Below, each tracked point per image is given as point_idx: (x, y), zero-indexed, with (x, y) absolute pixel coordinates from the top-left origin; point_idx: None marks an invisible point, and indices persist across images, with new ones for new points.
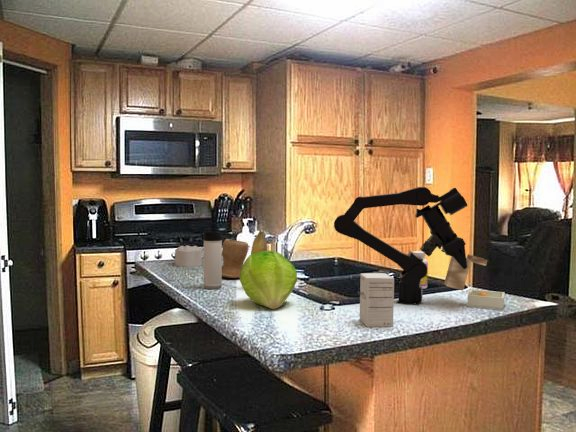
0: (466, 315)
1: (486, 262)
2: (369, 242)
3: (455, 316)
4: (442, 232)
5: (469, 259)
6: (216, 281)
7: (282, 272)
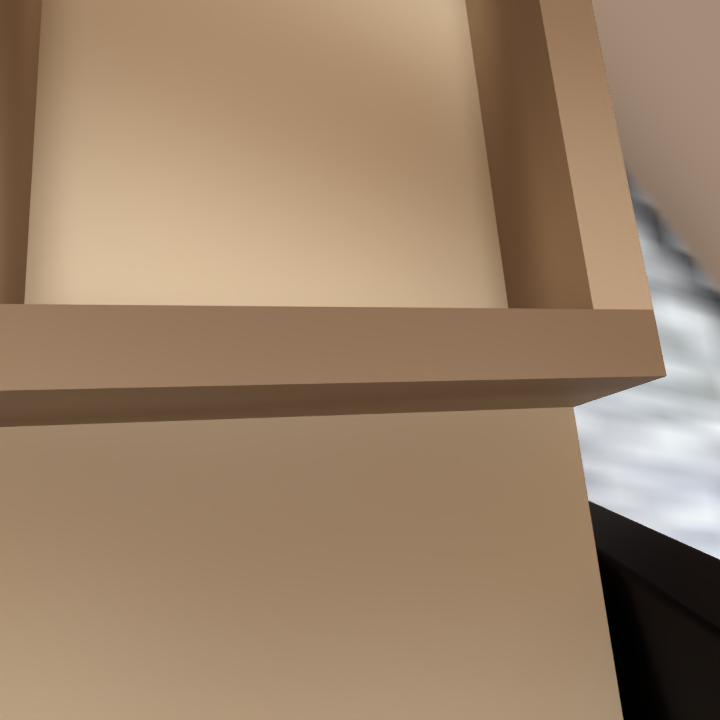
0: (649, 457)
1: None
2: None
3: (693, 545)
4: None
5: (499, 409)
6: None
7: None
